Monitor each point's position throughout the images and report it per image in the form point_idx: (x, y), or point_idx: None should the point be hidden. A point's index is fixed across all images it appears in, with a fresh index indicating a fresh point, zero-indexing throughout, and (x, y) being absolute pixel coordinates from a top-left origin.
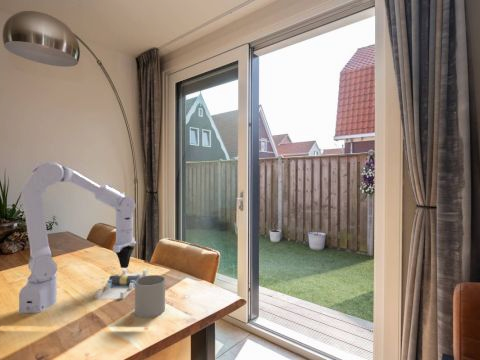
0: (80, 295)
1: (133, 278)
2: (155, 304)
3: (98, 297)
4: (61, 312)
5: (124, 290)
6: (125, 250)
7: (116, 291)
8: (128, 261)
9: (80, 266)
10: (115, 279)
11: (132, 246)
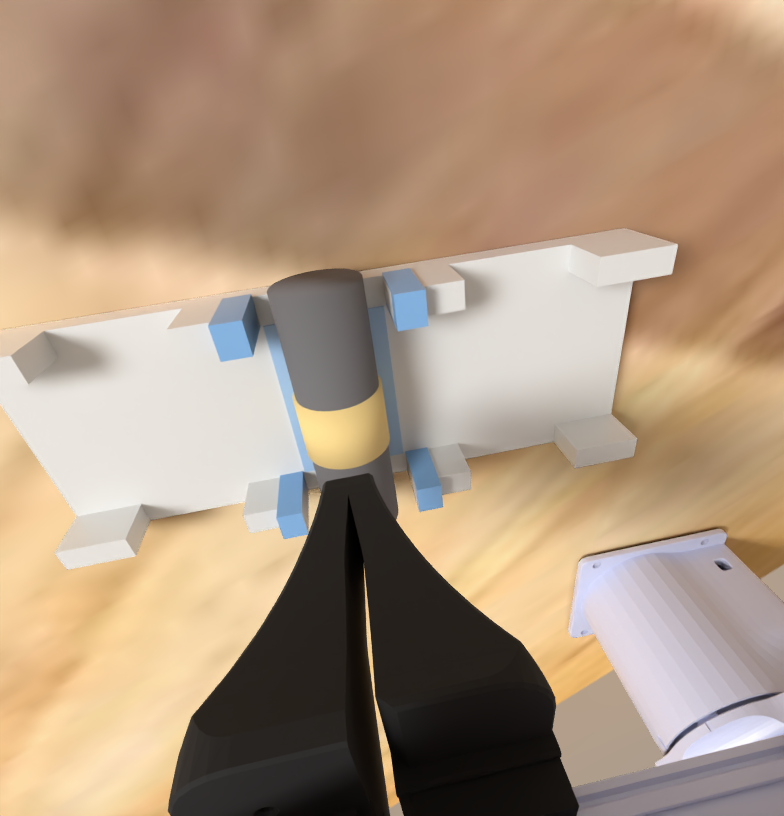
0: (497, 542)
1: (361, 330)
2: None
3: (612, 418)
4: (700, 486)
5: (626, 264)
6: (552, 714)
7: (488, 373)
8: (346, 522)
9: (83, 790)
10: (389, 476)
11: (240, 792)
